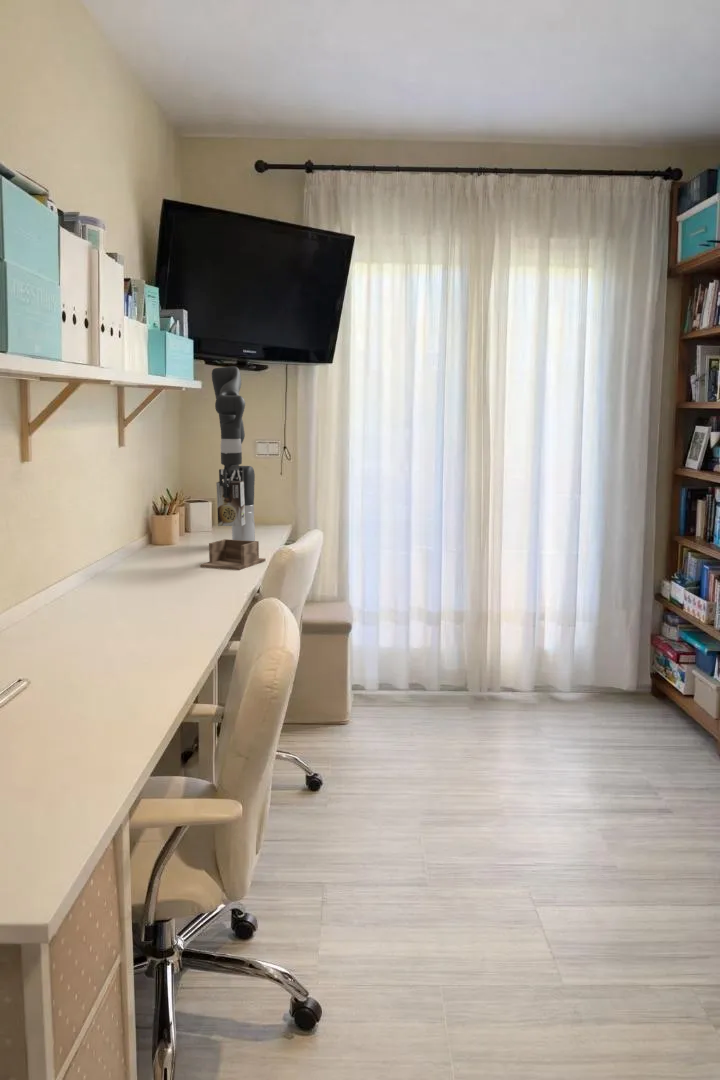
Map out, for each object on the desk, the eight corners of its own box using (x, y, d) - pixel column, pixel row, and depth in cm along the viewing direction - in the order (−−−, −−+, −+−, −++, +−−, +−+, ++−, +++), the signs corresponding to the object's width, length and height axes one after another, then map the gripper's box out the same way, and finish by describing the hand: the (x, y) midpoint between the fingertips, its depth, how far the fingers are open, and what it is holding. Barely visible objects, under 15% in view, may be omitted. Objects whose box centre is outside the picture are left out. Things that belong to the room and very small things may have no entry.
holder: (228, 558, 343) (227, 537, 341) (265, 561, 337) (265, 540, 336) (200, 567, 324) (199, 545, 323) (239, 570, 318) (238, 547, 317)
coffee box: (245, 524, 331) (245, 480, 329) (241, 526, 325) (240, 482, 322) (221, 523, 332) (220, 480, 330) (217, 526, 326) (216, 481, 323)
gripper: (232, 450, 332) (232, 494, 335) (211, 452, 319) (212, 498, 322) (249, 450, 330) (250, 495, 332) (230, 452, 316) (231, 499, 319)
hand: (232, 496), depth 327 cm, fingers closed on coffee box, 7 cm apart
